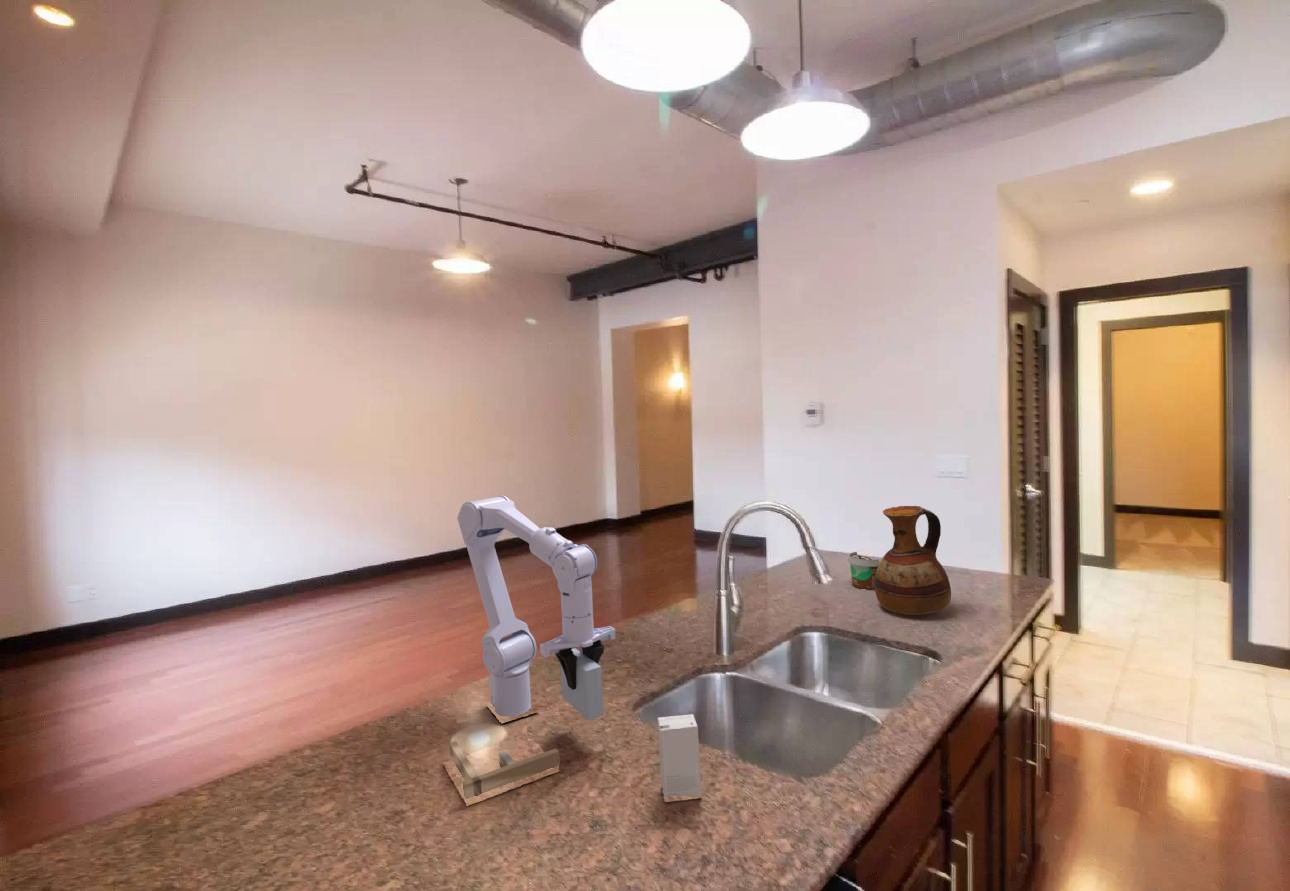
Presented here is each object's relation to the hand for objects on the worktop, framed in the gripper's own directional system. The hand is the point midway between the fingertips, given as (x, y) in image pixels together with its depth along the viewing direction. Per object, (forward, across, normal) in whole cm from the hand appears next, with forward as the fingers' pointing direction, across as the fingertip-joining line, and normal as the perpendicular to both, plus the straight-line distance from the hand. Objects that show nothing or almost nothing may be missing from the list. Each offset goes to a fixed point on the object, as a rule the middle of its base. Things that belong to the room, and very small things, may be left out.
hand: (580, 684), depth 116 cm
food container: (+11, +114, +29) cm, 118 cm away
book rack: (+10, -16, 0) cm, 19 cm away
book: (+4, 0, 0) cm, 4 cm away
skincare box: (+11, +5, -24) cm, 27 cm away
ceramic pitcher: (+11, +108, +6) cm, 109 cm away
